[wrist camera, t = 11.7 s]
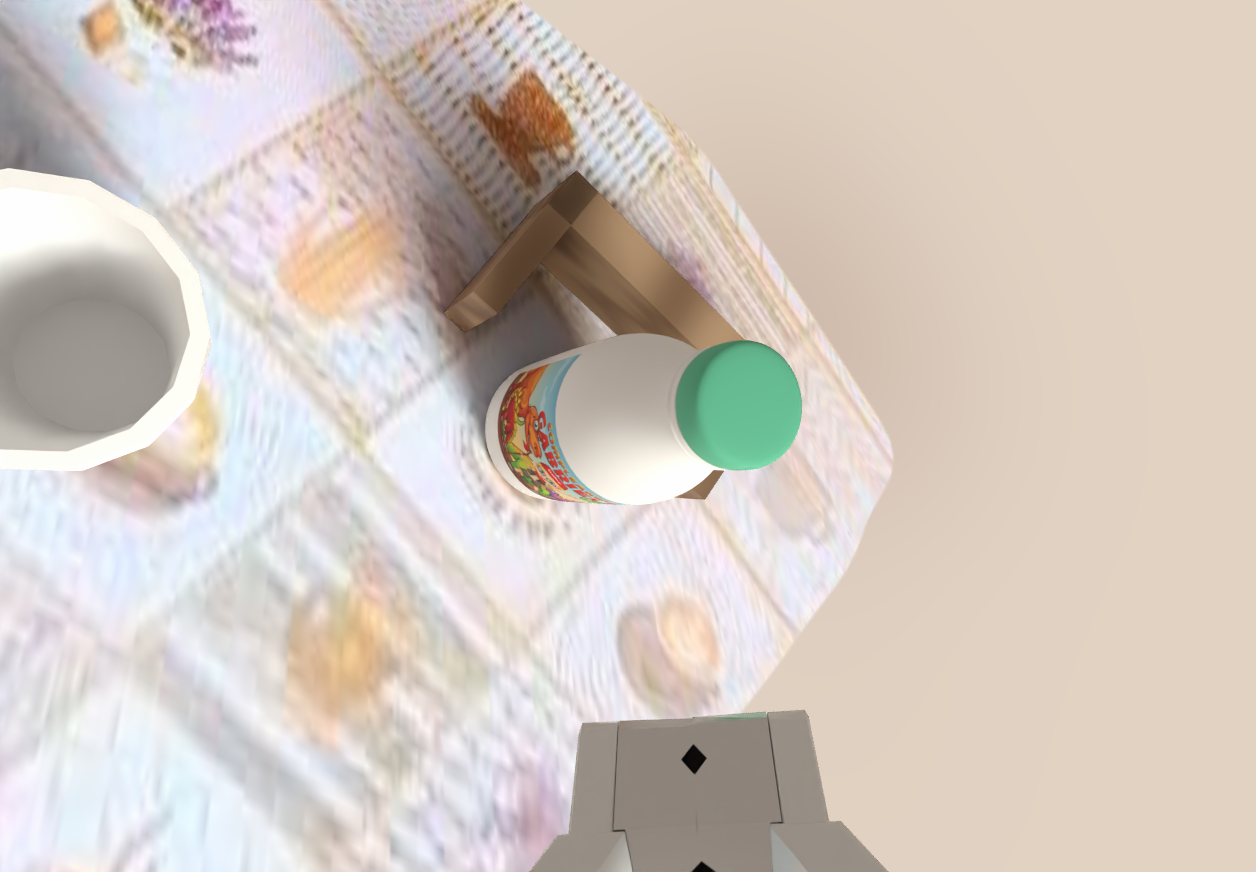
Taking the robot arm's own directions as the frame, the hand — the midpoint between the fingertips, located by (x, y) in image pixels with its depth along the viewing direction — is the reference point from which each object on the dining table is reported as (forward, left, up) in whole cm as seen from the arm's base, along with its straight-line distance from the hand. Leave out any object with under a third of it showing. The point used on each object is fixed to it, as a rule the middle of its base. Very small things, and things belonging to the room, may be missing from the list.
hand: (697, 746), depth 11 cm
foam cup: (-14, 0, -35) cm, 37 cm away
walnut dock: (+4, +17, -34) cm, 38 cm away
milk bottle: (+5, +11, -35) cm, 37 cm away
